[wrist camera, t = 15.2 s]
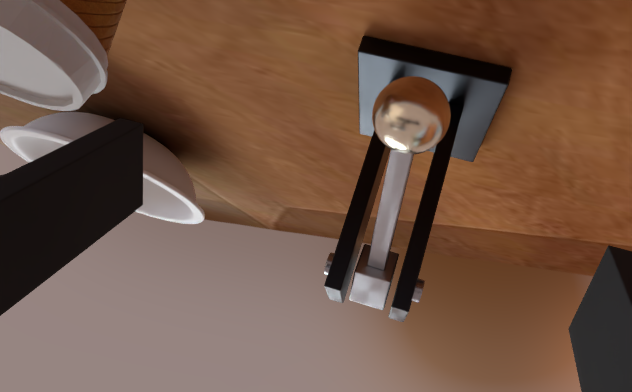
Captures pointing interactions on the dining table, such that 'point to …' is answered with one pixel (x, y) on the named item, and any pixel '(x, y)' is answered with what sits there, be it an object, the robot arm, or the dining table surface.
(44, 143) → the soup bowl
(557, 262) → the dining table surface
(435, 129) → the ball-tipped metal rod
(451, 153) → the bracket
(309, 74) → the dining table surface
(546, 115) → the dining table surface
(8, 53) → the disposable coffee cup
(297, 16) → the dining table surface
